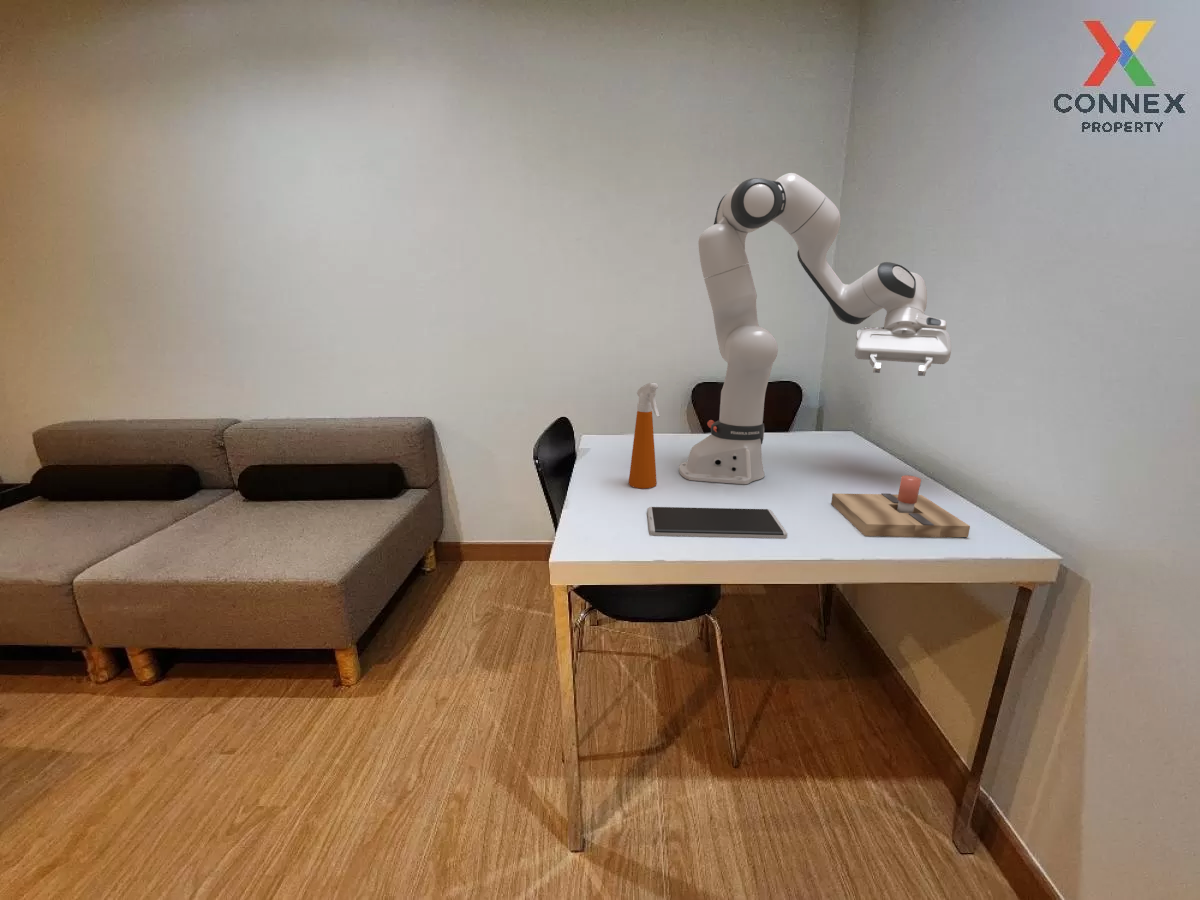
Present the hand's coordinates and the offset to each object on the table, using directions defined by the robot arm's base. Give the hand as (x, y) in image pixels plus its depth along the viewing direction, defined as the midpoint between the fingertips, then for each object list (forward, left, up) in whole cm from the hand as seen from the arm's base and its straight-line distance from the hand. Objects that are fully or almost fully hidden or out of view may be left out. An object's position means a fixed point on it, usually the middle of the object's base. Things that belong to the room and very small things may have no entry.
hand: (898, 372), depth 130 cm
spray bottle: (-59, -1, -29) cm, 65 cm away
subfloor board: (-7, -20, -29) cm, 36 cm away
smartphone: (-46, -25, -29) cm, 60 cm away
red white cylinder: (-5, -20, -28) cm, 35 cm away
